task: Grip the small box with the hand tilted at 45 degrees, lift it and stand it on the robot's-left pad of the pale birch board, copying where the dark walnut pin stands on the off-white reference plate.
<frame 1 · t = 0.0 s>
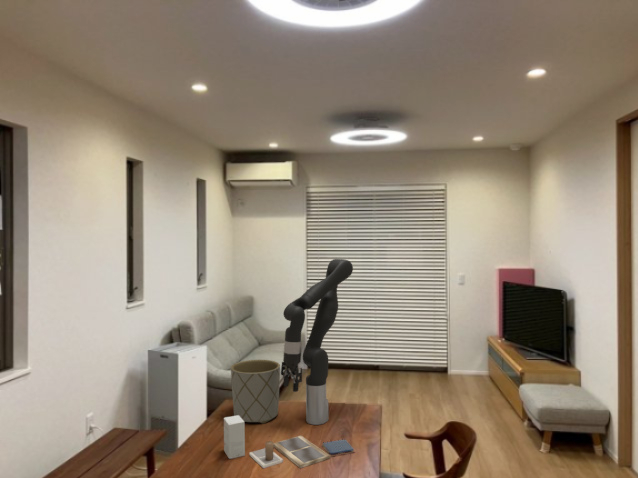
hand: (290, 388, 201), 17 cm above the table, tool pointing down, fingers open, 8 cm apart
small box: (234, 453, 178), on the table
woven mat: (338, 450, 181), on the table
planter: (256, 416, 215), on the table
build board: (300, 452, 178), on the table
reference plate: (265, 458, 173), on the table
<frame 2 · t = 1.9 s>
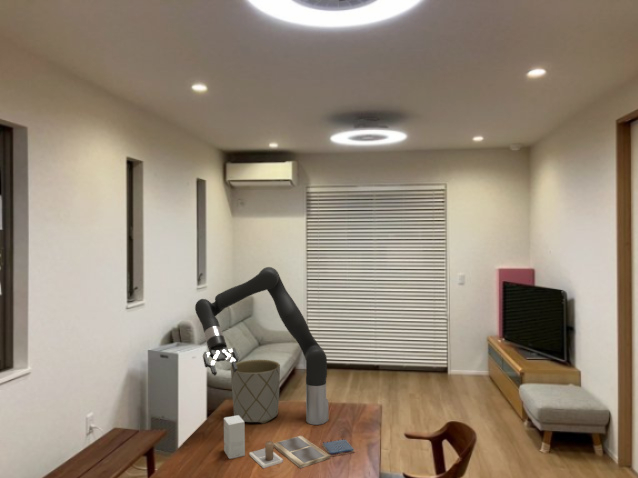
hand: (225, 372, 187), 28 cm above the table, tool tilted 45°, fingers open, 8 cm apart
nothing on the table moved.
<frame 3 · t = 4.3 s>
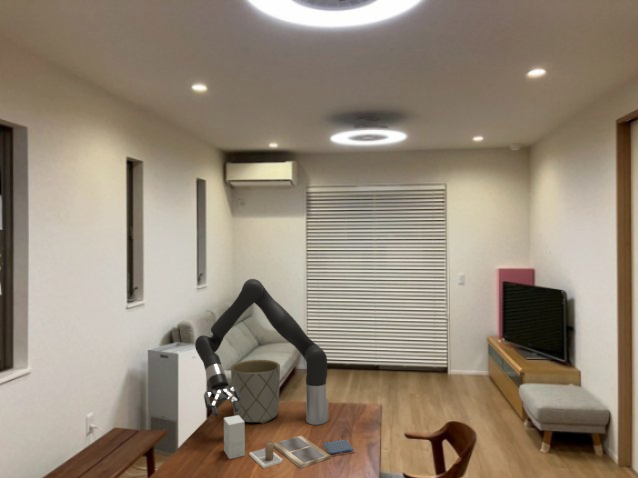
hand: (227, 413, 184), 13 cm above the table, tool tilted 45°, fingers open, 8 cm apart
nothing on the table moved.
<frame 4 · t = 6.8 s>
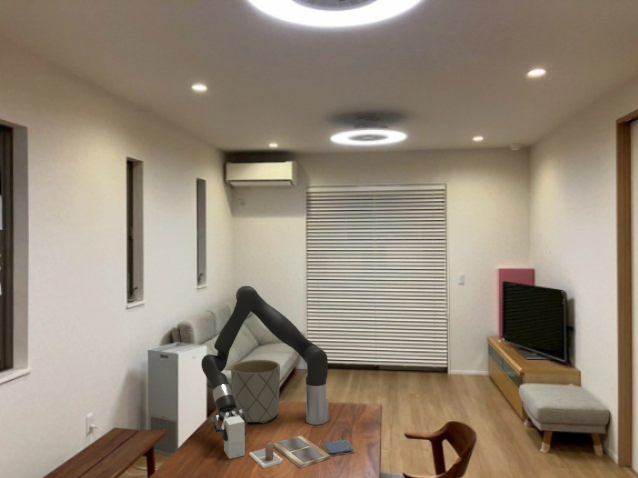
hand: (235, 437, 177), 6 cm above the table, tool tilted 45°, fingers closed on small box, 6 cm apart
small box: (234, 453, 178), on the table, touching gripper
everything else where it was.
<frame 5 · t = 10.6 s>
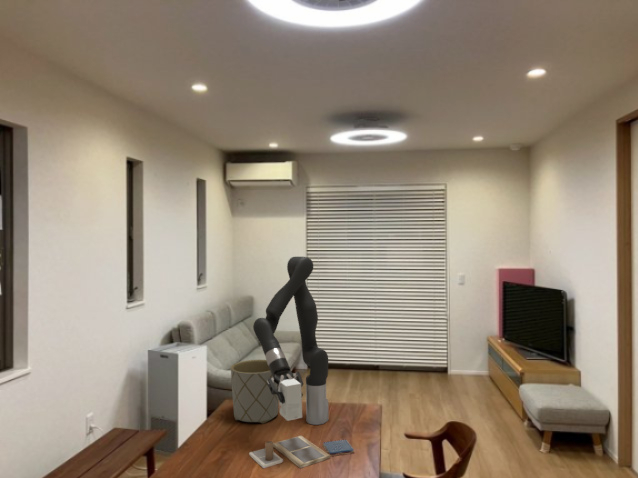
hand: (292, 400, 174), 22 cm above the table, tool tilted 45°, fingers closed on small box, 6 cm apart
small box: (290, 416, 175), point 15 cm above the table, touching gripper
everything else where it was.
when the fingers open (9 cm above the table, at t = 14.4 s): small box drops 1 cm, resting on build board.
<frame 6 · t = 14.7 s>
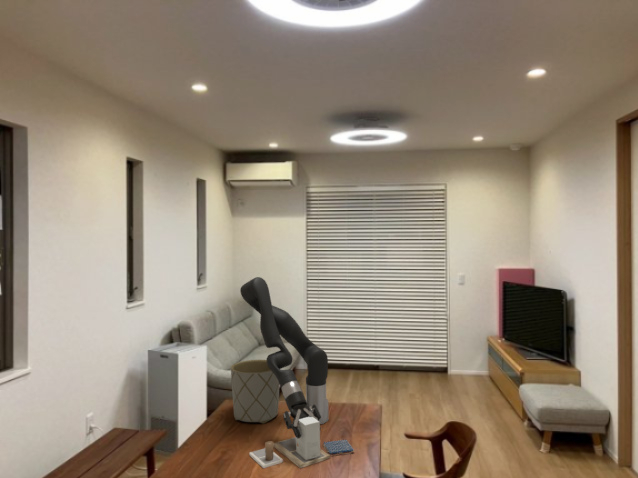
hand: (309, 434, 172), 9 cm above the table, tool tilted 45°, fingers open, 8 cm apart
small box: (308, 454, 174), point 1 cm above the table, touching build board
everything else where it was.
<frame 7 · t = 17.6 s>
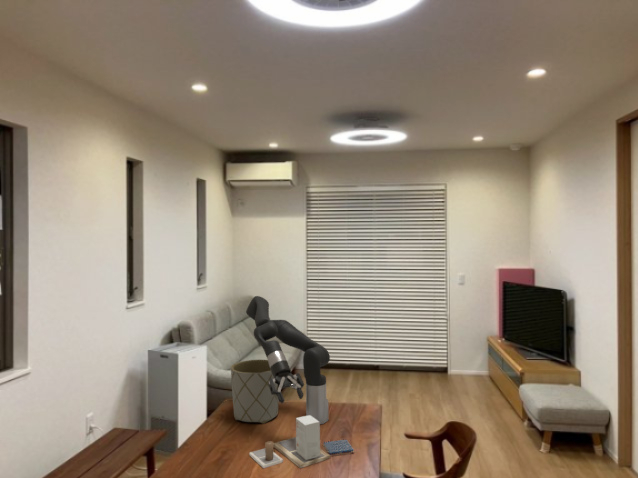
hand: (292, 400, 183), 19 cm above the table, tool tilted 45°, fingers open, 8 cm apart
nothing on the table moved.
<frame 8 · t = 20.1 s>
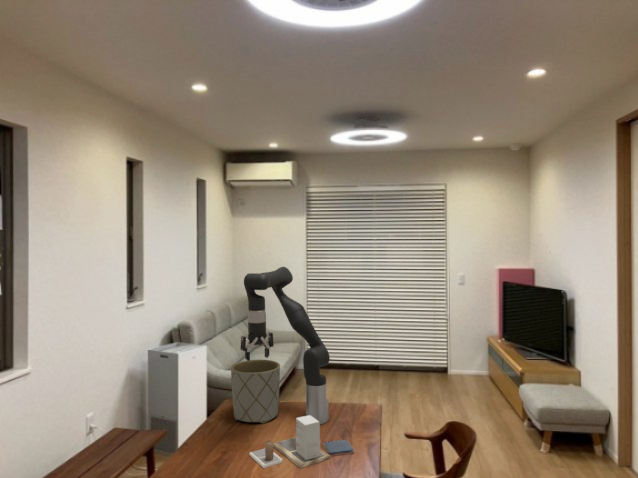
hand: (257, 358, 195), 32 cm above the table, tool pointing down, fingers open, 8 cm apart
nothing on the table moved.
at the end: small box inside the target area on the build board (0.1 cm from its centre), point 1.2 cm above the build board's base; small box tilted 0°; the gripper is holding nothing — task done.
